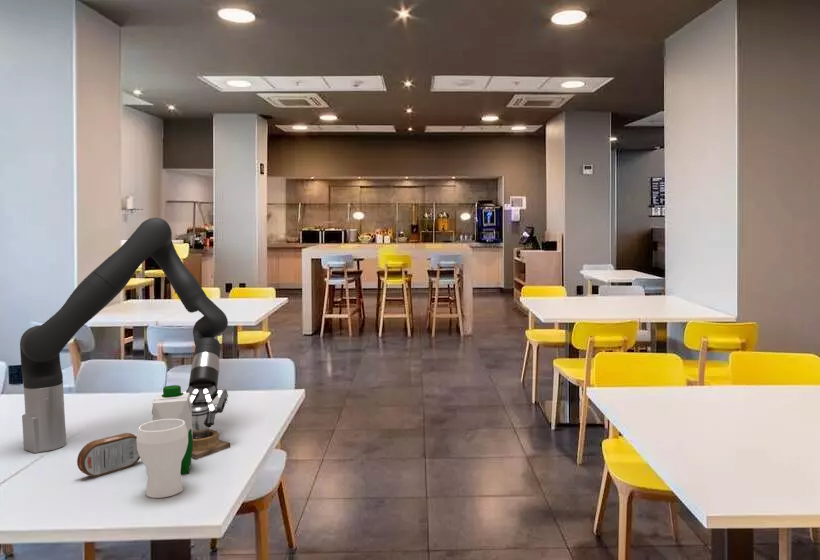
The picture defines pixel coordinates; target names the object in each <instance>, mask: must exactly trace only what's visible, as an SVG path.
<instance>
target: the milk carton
mask: <svg viewBox="0 0 820 560" xmlns="http://www.w3.org/2000/svg"><path fill="white" fill-rule="evenodd" d="M162 392H163V394H157V395H156V396H155V398H153V402H152V409H151V415H152V421H155V420H161V419H180V420H183V421H184V422H185V425H186V428H187V432H188V446H187V450H186V453H185V455H184V457H183V459H182V461H181V472H180V473H181V475H187V474H189V473H190V469H191V465H192V451H193V432H192V412H191V400H190V394H189V393H183V392H182V386H181V385H179V384H178V385H177V384H175V385H174V384H173V385H167V386H164V387H163V389H162Z"/></svg>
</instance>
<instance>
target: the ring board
mask: <svg viewBox="0 0 820 560" xmlns="http://www.w3.org/2000/svg"><path fill="white" fill-rule="evenodd" d="M209 431H210V437H207V438H202V439H193V451H192V459H193V460H199V458H200V459H202V458H205V457H207V456H210V455H213V454H215V453H219V452H220V451H224V450H226V449H229V448H231V446H232V445H231V442H229V441H225V440H222V439H220V433H219V432H218V430H215V429H211V428H209ZM192 459H191V460H192Z"/></svg>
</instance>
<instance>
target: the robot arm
mask: <svg viewBox="0 0 820 560" xmlns="http://www.w3.org/2000/svg"><path fill="white" fill-rule="evenodd" d="M172 238H173V237H172V229H171V226H170V225H169V223H168V222H167V221H166V220H165V219H163V218H161V217H152V218H148V219H146V220H144V221H143V222H141V224H139V226H138V227H137V228H136V229H135V230H134V232H133V233H132V234H131V235H130V237H128V239H127V240H126V241H125V242H124V243H123V244H122V245H121V246H120V247H119V248H118V249H117V250H115V252H113V253H112V254H111V255H110V256H109V257H107V258H106V259H105V260H104V261H103V262H101V264H99V265H98V266H96V268H95V269H94V270H93V271H92V272H90V273H89V274H88V275H87V276H86V277H85V278H84V279H82V281H81V282H80V283H79V284H78V285H77V287H75V289H74V290H73V292H71V294H70V295H69V296H68V298H67V299H66V301H65V303H64V304H63V305H62V306H61V308H60V309H58V311H57V312H55V314H54V315H52V316H51V317H50V318H48V319H47V320H46V321H44V322H43V323H42V324H41V325H34V326H32V327H29V328H27V329H26V330H25V331H24V332H23V334H22V335H21V337H20V341H19V350H20V365H21V368H20V369H21V376H22V382H23V383H22V384H23V394H24V395H23V396H24V397H23V399H24V400H23V401H24V414H22V416H21V421H22V439H23V450H25V451H27V452H30V453H34V454H36V453H43V452H50V451H53V450H57V449H60V448H63V447H65V446H66V445H67V434H66V431H67V430H66V415H65V397H64V378H63V371H62V366H61V365H62V364H61V357H60V355H61V354H60V353H61V352H62V351H63V349H64V348H65V347H66V346H67V344H68V343H69V342H70V341H71V340H72V339H73V337H74V336H75V335H76V334H77V333H78V332H79V330H81V329H82V328H83V327H84V325H85V324H87V323H88V322H90V320H92V319H93V318H94V317H95V316H97V315H98V314H99V312H101V311H102V310H103V309H104V308H105V307H106V306H108V305H109V304H110V303H111V302H112V301H113V300H114V299H115V298H116V297H117V296H118V295H119V294H120V293H121V292H122V291H123V290H124V288H125V287H126V286H127V284H128V283H129V282H130V281H131V279H132V277H133V276H134V274H135V273H136V271H138V269H139V267H140V266H141V265H142V264H143V263H144V262H145V261H146V260H147V259H149V257H151V258H152V259H153V261H155V263H156V264H157V265H158V266H159V268H160V269H161V270H162V272H163V273H164V275H165V276H166V278H167V281H168V282H169V284H170V285H171V286H172V288H173V290H174V292H175V293H176V296H177V298H178V299H179V301H180V302H181V303H182V305H183V307H184V308H185V310H186V311H187V312H188V313H190V314H191V313H196V312H199V313H201V315H203V316H202V317H201V318H199V319H198V320H197V321H196V322H195V323H194V325H193V328H192V336H193V342H194V343H193V344H194V347H195V348H194V354H193V359H192V363H191V368H190V375H189V380H188V388H187V389H186V391H184V392H182V393H189V394H190V400H191V406H193V405H199V404H206V405H208V407H209V413H208V422H207V425H208V428H209V429H211V428H212V426H214V425H215V418H216V414H222V413H223V411H224V409H225V406H226V403H227V402H226V400H227V401H228V397H229V394H228V390H227V389H222V390H219V389H218V383H219V382H218V381H219V374H220V358H221V357H220V355H221V344H220V341H219V340H218V339H217V338H216V337H217V336H218V335H220V334H221V333H223V332H224V331H225V330H227V328H228V326H229V323H228V322H229V321H228V317H227V315H226V313H225V312H224V311H223V310H222V309H221V308H219V306H217V305H216V303H214V301H212V300H211V299H210V298H209V297H208V296H207V293H205V291H204V289H203V287H202V285H200V283H199V282H198V280H197V278H196V277H195V276H194V275H193V274H192V273H191V271H190V270H189V269H188V268H187V266H186V264H184V263H183V261H182V259H181V258H180V256H179V254H178V253H177V250H176V248H175V245H174V243H173V240H172ZM217 395H219V398H220V399H219V402H218V405H217V406H215V407H214V406H213V403H212V401H213V400H214V399H215V397H216V396H217Z"/></svg>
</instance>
